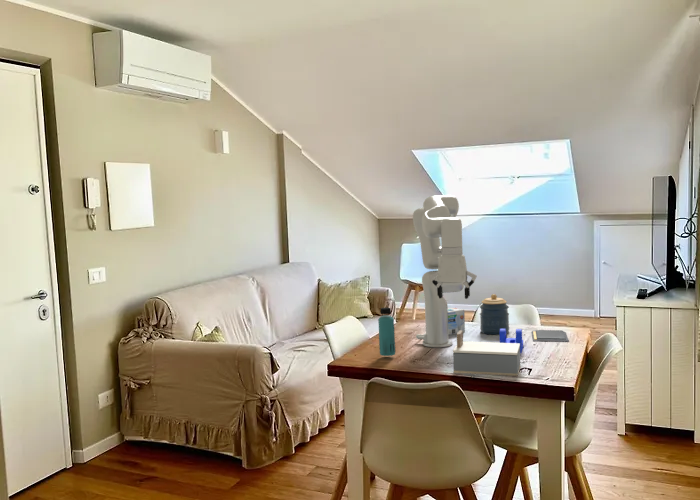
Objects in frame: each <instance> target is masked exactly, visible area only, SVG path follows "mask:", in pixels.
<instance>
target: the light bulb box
mask: <svg viewBox="0 0 700 500" xmlns="http://www.w3.org/2000/svg"><path fill="white" fill-rule="evenodd" d="M465 320H466V319H465V309H463V308H458V307H453V308H452V307H451V308H448V336H449V335H457V333H458V332H459V331H463V332H464V333H465V331H466V327H465V326H466V325H465V324H466V323H465V322H466V321H465Z"/></svg>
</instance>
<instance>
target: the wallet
mask: <svg viewBox="0 0 700 500" xmlns="http://www.w3.org/2000/svg"><path fill="white" fill-rule="evenodd" d="M530 333H531V337H532V342H537V343H539V342H540V343H570V340H569V338H568V335H567V332H566V331H564V330H563V329H562V330H560V329H559V330H558V329H556V330H555V329H537V330H533V331H531V332H530Z"/></svg>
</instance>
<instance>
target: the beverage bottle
mask: <svg viewBox="0 0 700 500" xmlns="http://www.w3.org/2000/svg"><path fill="white" fill-rule="evenodd" d="M379 313H380V315H381V314H382V315H381V316H380V317H379V318H378V319H377V321H378V344H379V345H378V348H379V355H380V356H383V357H390V356H395V355H396V337H395V335H396V334H395V318H394V317H393V316H392V315H389V314H391V313H392V311H391V307H381V308H380V312H379Z"/></svg>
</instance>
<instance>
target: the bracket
mask: <svg viewBox="0 0 700 500" xmlns="http://www.w3.org/2000/svg"><path fill="white" fill-rule="evenodd" d="M499 343H520V354H522V353H523V349H524V339H523V329H522V328H516V329H515V337H507V333H506V329H500V334H499Z"/></svg>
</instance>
